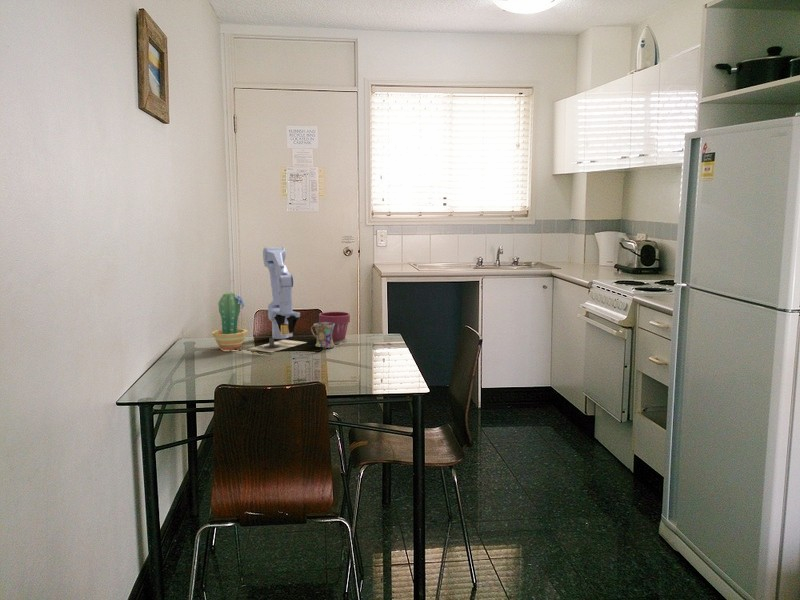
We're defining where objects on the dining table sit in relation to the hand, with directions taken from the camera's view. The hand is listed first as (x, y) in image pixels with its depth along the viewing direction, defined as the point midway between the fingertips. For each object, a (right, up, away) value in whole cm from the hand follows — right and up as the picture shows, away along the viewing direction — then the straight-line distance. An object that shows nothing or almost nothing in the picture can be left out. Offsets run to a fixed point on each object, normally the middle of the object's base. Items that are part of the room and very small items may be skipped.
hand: (286, 331), depth 305 cm
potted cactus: (-24, -8, -6) cm, 26 cm away
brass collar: (0, -1, 0) cm, 1 cm away
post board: (-3, -7, -4) cm, 9 cm away
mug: (+16, -7, -3) cm, 18 cm away
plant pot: (+21, -5, +11) cm, 24 cm away
